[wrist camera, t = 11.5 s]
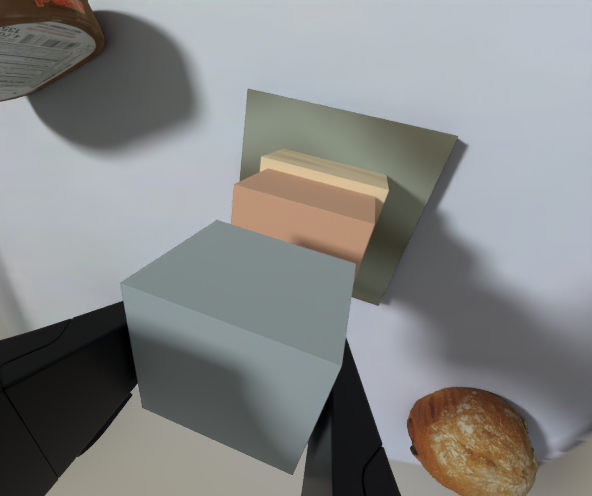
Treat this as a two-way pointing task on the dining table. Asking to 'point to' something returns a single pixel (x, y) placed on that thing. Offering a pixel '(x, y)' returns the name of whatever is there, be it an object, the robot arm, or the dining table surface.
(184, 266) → the gray brick
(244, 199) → the terracotta brick
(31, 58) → the tin
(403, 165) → the build board
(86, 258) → the dining table surface
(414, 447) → the bread roll
